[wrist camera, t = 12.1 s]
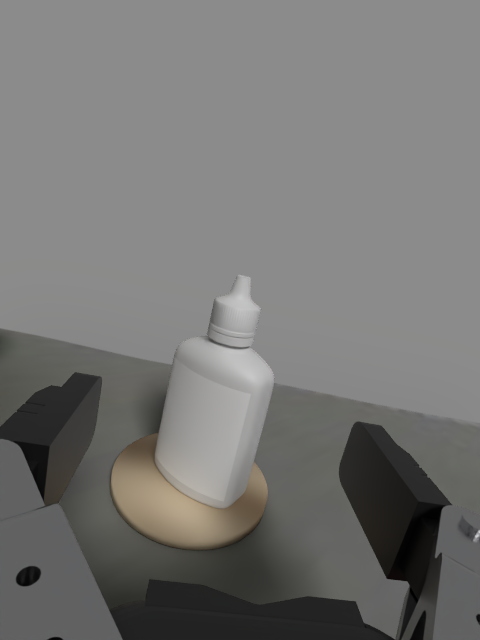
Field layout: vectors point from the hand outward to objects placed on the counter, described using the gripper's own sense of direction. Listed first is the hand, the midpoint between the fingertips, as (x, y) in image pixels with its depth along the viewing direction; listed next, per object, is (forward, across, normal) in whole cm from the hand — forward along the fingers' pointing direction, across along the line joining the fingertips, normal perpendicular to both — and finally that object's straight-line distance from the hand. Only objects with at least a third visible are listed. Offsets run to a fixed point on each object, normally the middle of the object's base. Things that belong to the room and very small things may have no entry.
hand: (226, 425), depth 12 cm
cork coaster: (+8, 0, +9) cm, 12 cm away
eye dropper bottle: (+8, 0, +9) cm, 12 cm away
